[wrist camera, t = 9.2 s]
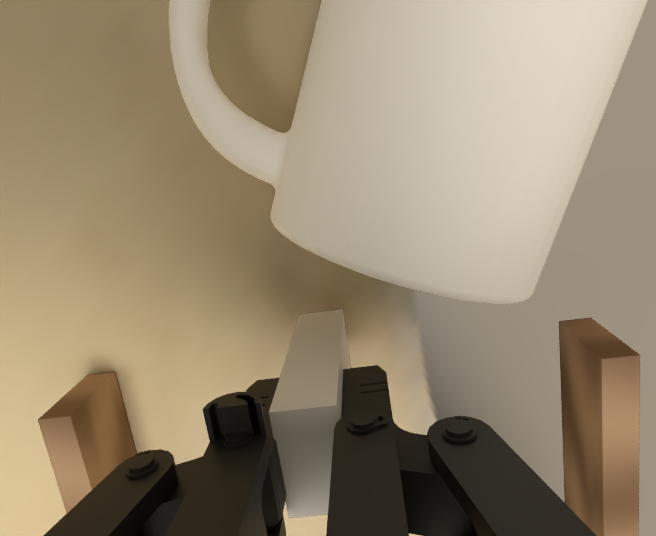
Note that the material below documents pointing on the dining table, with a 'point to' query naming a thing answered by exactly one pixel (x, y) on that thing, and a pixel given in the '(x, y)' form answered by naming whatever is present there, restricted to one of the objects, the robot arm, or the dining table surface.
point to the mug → (426, 133)
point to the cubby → (577, 423)
